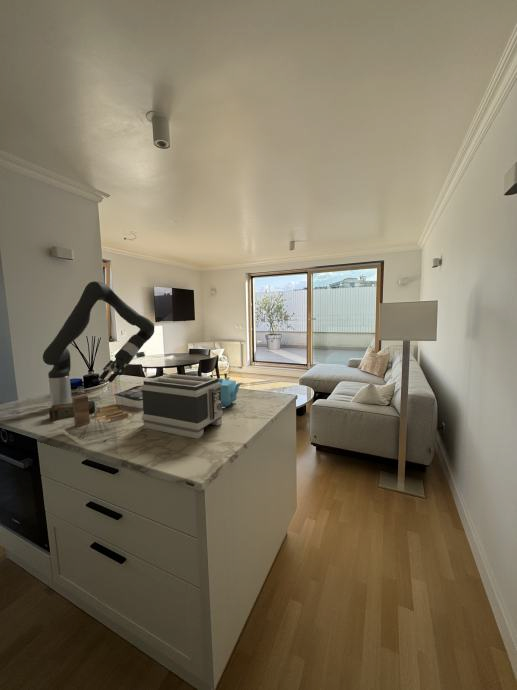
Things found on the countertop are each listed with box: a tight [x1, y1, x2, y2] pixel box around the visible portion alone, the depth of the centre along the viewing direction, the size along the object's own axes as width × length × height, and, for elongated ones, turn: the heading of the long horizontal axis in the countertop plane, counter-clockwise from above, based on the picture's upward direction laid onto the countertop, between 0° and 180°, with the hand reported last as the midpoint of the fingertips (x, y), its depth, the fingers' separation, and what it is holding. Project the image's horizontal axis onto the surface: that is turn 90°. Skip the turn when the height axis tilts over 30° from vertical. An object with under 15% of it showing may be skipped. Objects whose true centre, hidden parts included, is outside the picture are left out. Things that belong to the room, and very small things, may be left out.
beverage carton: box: [48, 399, 98, 422], centre depth 139 cm, size 8×19×7 cm, turn 117°
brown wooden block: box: [72, 394, 91, 427], centre depth 125 cm, size 3×5×13 cm, turn 143°
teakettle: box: [217, 376, 244, 407], centre depth 153 cm, size 19×19×15 cm
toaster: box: [140, 373, 224, 440], centre depth 123 cm, size 18×34×21 cm, turn 65°
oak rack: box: [90, 402, 135, 425], centre depth 135 cm, size 16×13×5 cm
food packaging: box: [112, 385, 143, 410], centre depth 158 cm, size 25×8×23 cm
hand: (104, 380), depth 132 cm, fingers open, 8 cm apart
